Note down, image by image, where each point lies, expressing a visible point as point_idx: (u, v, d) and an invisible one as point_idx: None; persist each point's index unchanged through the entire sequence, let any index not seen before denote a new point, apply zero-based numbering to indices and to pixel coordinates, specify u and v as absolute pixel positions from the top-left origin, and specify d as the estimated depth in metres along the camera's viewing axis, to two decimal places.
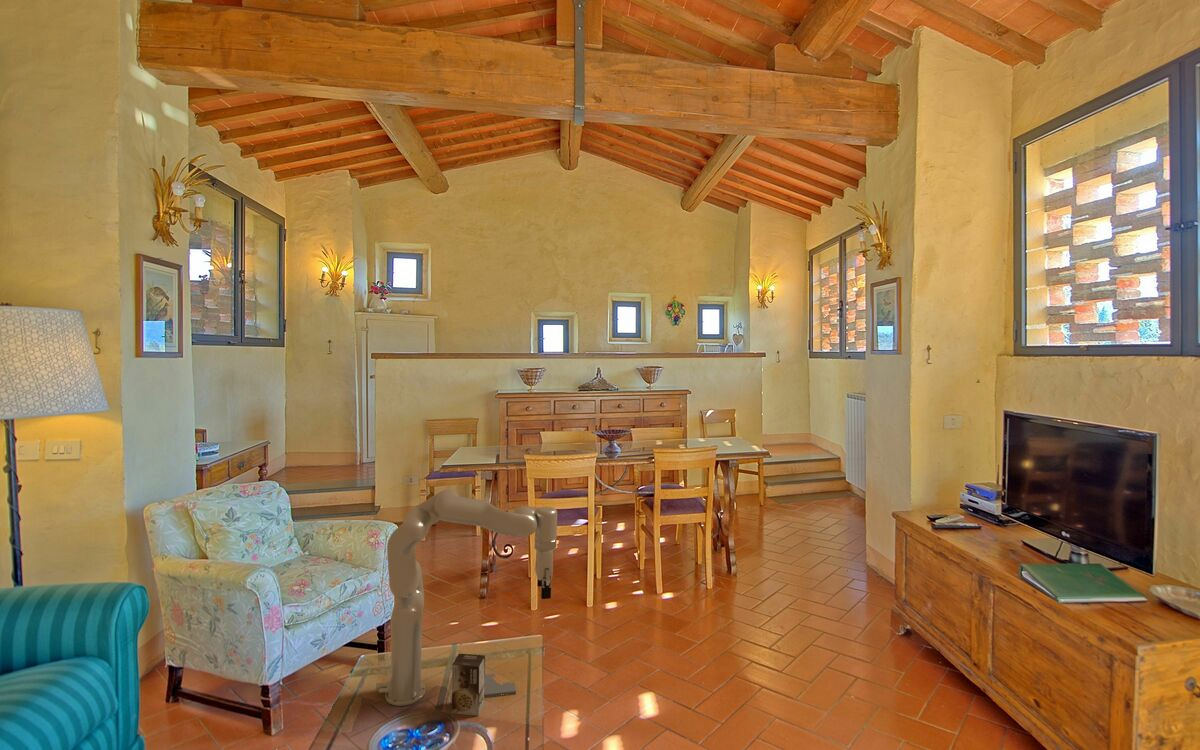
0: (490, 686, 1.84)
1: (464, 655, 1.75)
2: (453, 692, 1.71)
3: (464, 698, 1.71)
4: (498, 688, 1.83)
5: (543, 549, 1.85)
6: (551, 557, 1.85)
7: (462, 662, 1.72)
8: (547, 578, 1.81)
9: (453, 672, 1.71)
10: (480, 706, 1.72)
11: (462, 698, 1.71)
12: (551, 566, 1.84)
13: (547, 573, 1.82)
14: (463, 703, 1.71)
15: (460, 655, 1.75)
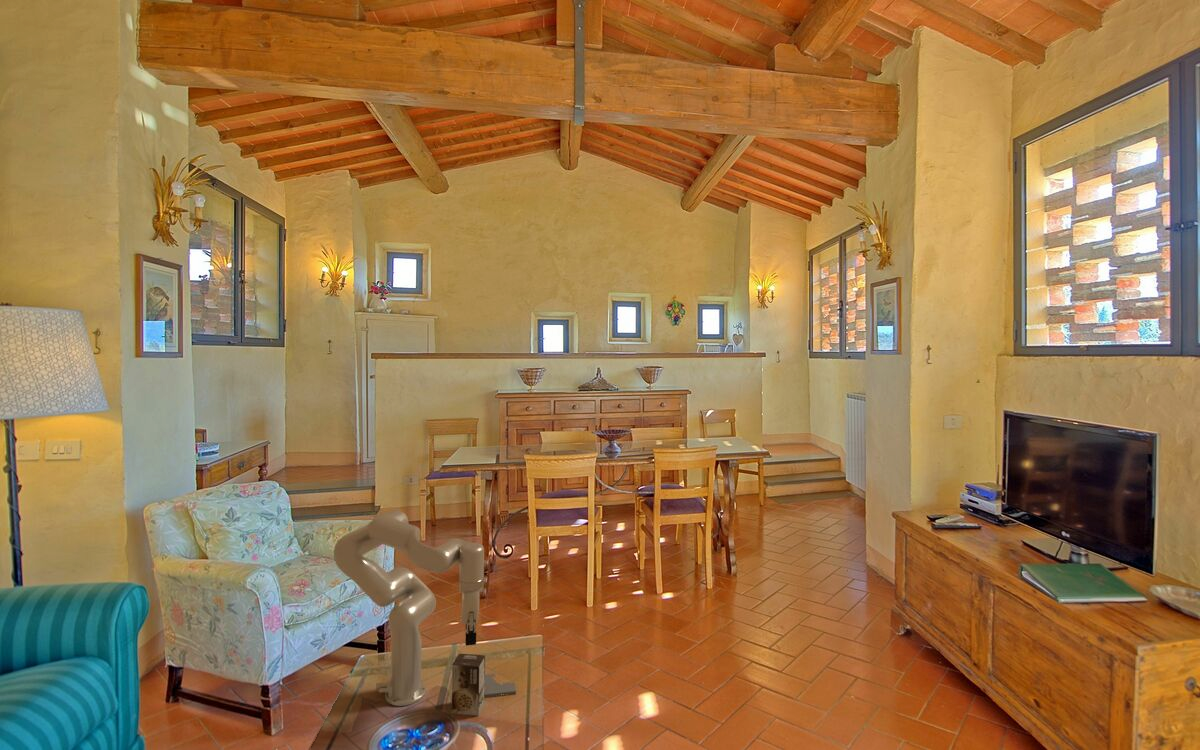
0: (490, 686, 1.84)
1: (464, 655, 1.76)
2: (453, 692, 1.71)
3: (464, 698, 1.71)
4: (498, 688, 1.83)
5: (467, 590, 1.68)
6: (476, 599, 1.68)
7: (462, 662, 1.72)
8: (470, 623, 1.64)
9: (453, 672, 1.71)
10: (480, 706, 1.72)
11: (462, 698, 1.71)
12: (476, 609, 1.68)
13: (471, 617, 1.66)
14: (463, 702, 1.71)
15: (460, 655, 1.75)
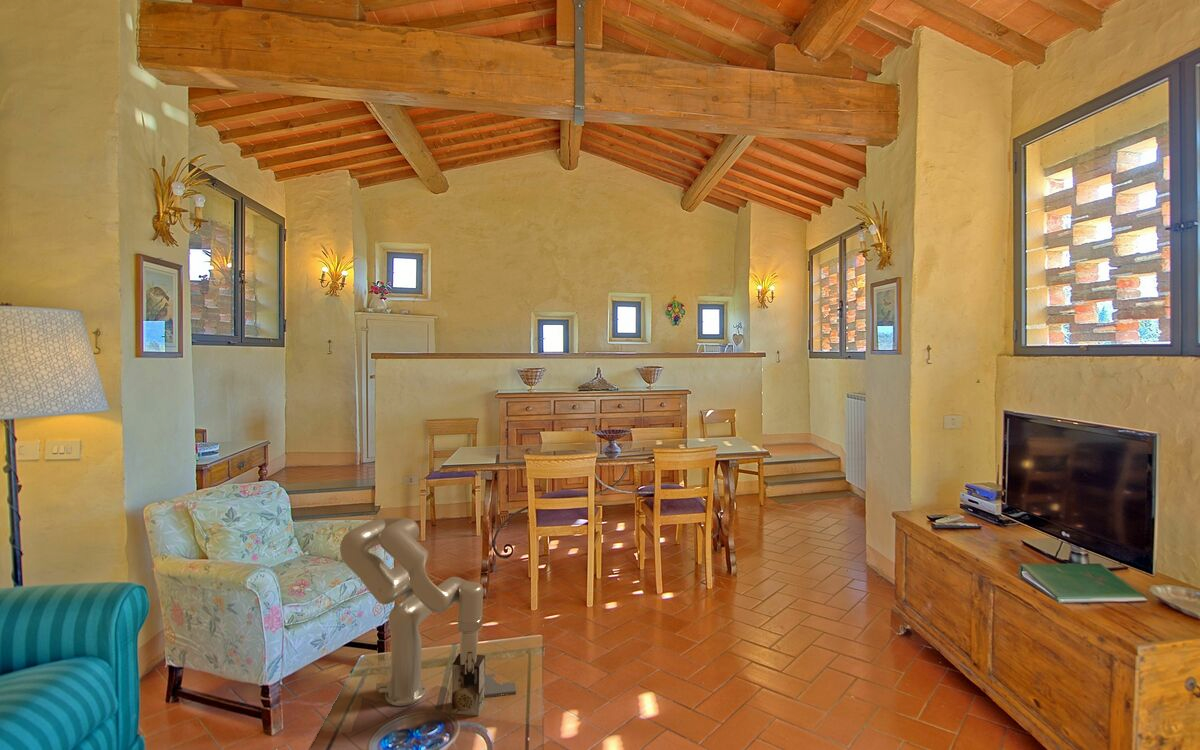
0: (490, 686, 1.84)
1: None
2: (453, 692, 1.71)
3: (464, 698, 1.71)
4: (498, 688, 1.83)
5: (466, 631, 1.69)
6: (475, 639, 1.69)
7: None
8: (468, 666, 1.65)
9: (453, 672, 1.71)
10: (480, 706, 1.72)
11: (462, 698, 1.71)
12: (474, 649, 1.69)
13: (469, 659, 1.67)
14: (463, 702, 1.71)
15: None
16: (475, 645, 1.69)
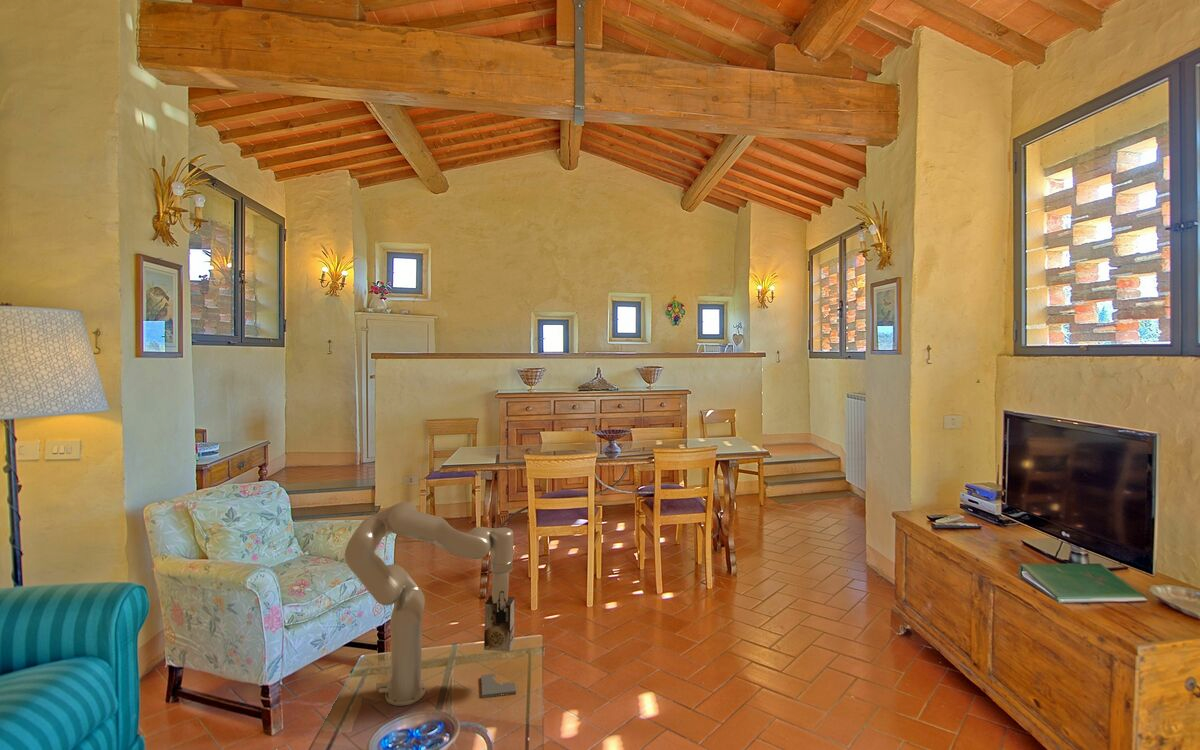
0: (490, 686, 1.84)
1: None
2: (486, 630, 1.82)
3: (496, 635, 1.82)
4: (498, 688, 1.83)
5: (498, 572, 1.80)
6: (506, 580, 1.80)
7: None
8: (501, 603, 1.77)
9: (486, 611, 1.82)
10: (511, 643, 1.83)
11: (494, 635, 1.82)
12: (506, 589, 1.80)
13: (501, 598, 1.78)
14: (495, 639, 1.82)
15: (491, 597, 1.87)
16: (506, 585, 1.80)
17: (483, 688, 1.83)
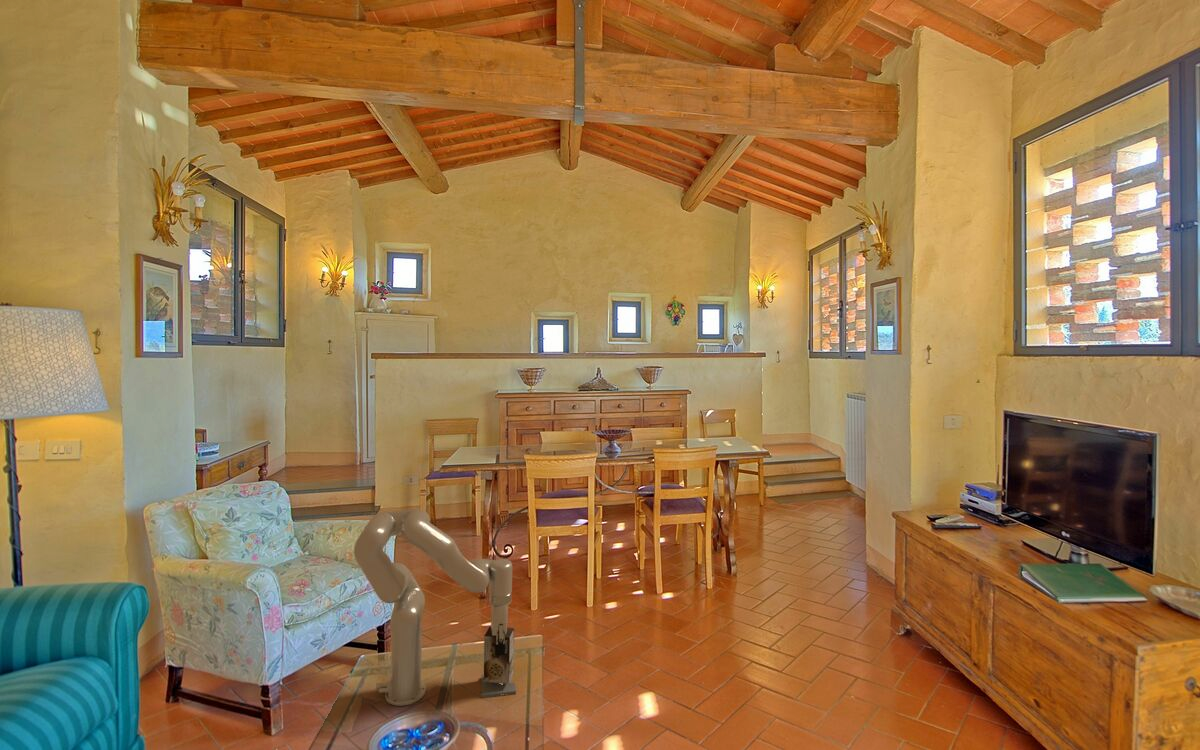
0: (490, 686, 1.84)
1: None
2: (485, 661, 1.83)
3: (495, 667, 1.83)
4: (498, 688, 1.83)
5: (497, 604, 1.81)
6: (505, 612, 1.81)
7: None
8: (500, 636, 1.77)
9: (485, 643, 1.83)
10: (510, 675, 1.84)
11: (493, 667, 1.83)
12: (505, 621, 1.81)
13: (500, 630, 1.79)
14: (495, 671, 1.83)
15: (490, 628, 1.87)
16: (506, 617, 1.81)
17: (483, 688, 1.83)
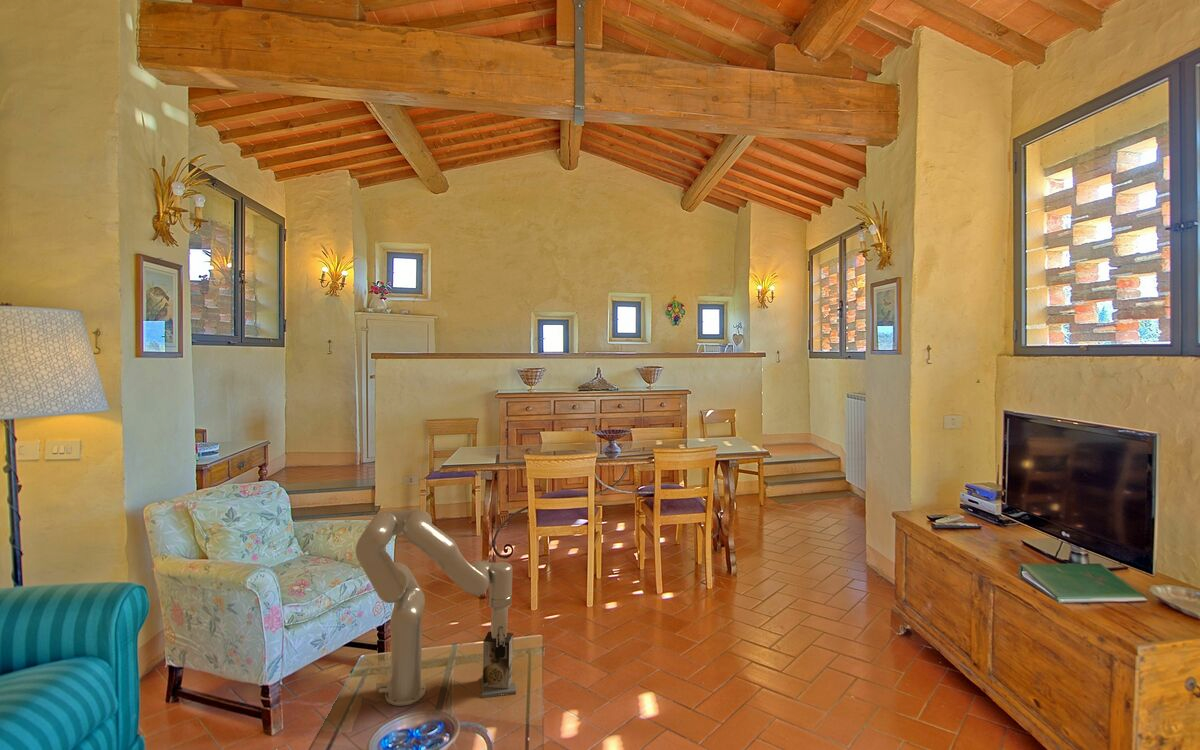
0: None
1: None
2: (484, 667, 1.83)
3: (494, 672, 1.83)
4: (498, 688, 1.83)
5: (497, 607, 1.81)
6: (505, 615, 1.81)
7: (492, 639, 1.84)
8: (500, 638, 1.77)
9: (484, 648, 1.83)
10: (509, 680, 1.84)
11: (493, 672, 1.83)
12: (505, 624, 1.81)
13: (500, 632, 1.79)
14: (494, 676, 1.83)
15: (489, 633, 1.87)
16: (506, 620, 1.81)
17: (483, 688, 1.83)
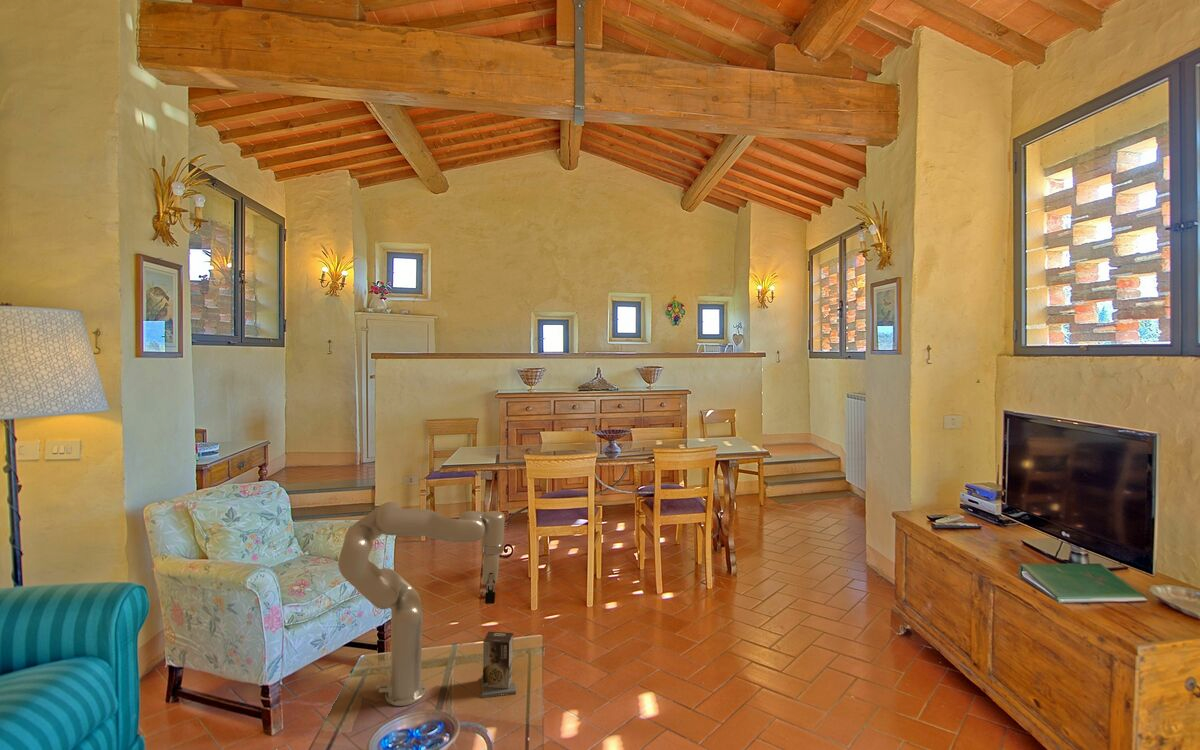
0: None
1: (493, 633, 1.88)
2: (484, 667, 1.83)
3: (494, 672, 1.83)
4: (498, 688, 1.83)
5: (488, 553, 1.84)
6: (496, 562, 1.84)
7: (492, 639, 1.84)
8: (490, 583, 1.80)
9: (484, 648, 1.83)
10: (509, 680, 1.84)
11: (493, 672, 1.83)
12: (495, 571, 1.84)
13: (490, 578, 1.82)
14: (494, 676, 1.83)
15: (489, 633, 1.87)
16: (496, 567, 1.84)
17: (483, 688, 1.83)
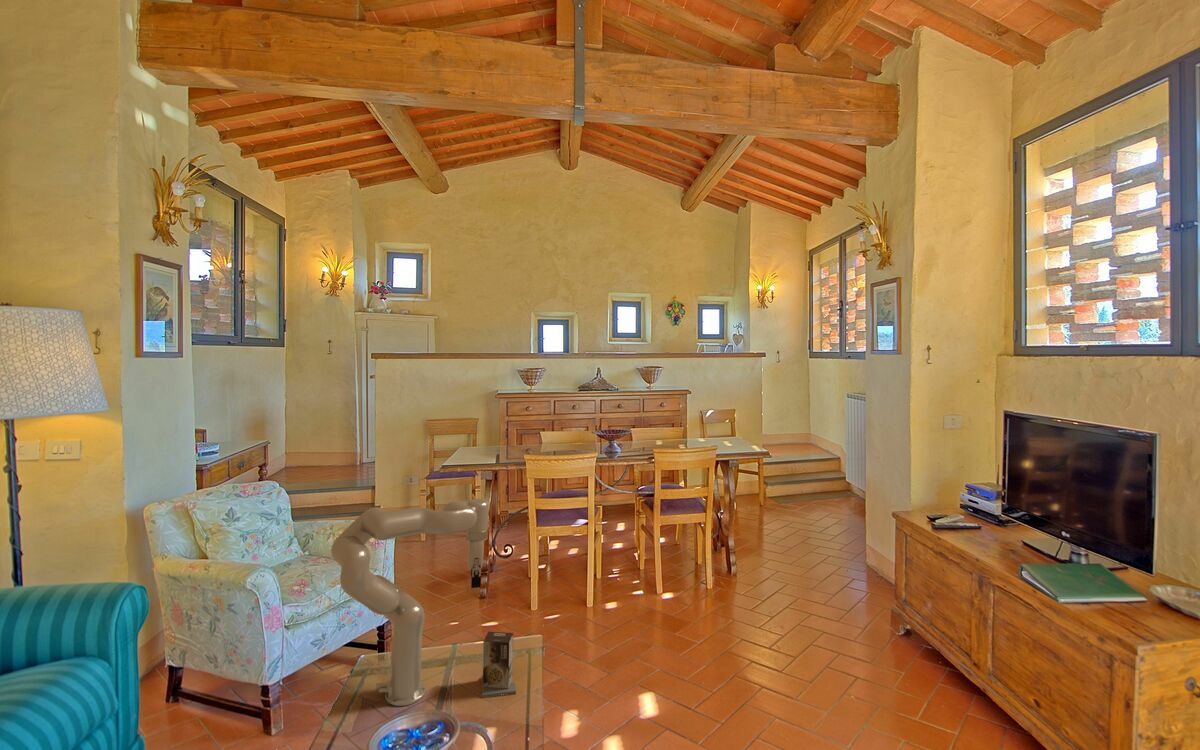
0: None
1: (493, 633, 1.88)
2: (484, 667, 1.83)
3: (494, 672, 1.83)
4: (498, 688, 1.83)
5: (473, 539, 1.91)
6: (481, 547, 1.91)
7: (492, 639, 1.84)
8: (476, 567, 1.87)
9: (484, 648, 1.83)
10: (509, 680, 1.84)
11: (493, 672, 1.83)
12: (481, 556, 1.90)
13: (476, 563, 1.88)
14: (494, 676, 1.83)
15: (489, 633, 1.87)
16: (481, 552, 1.91)
17: (483, 688, 1.83)
